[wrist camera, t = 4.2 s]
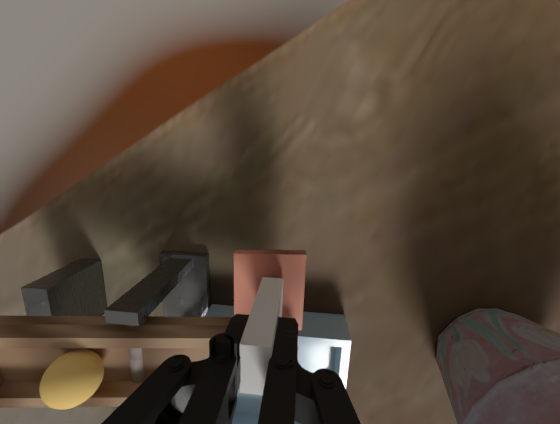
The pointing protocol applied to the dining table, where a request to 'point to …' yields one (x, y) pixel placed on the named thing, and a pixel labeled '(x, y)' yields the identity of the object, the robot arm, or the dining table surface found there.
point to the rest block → (68, 291)
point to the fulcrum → (166, 290)
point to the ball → (71, 379)
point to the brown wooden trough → (135, 335)
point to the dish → (301, 353)
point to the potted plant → (500, 369)
